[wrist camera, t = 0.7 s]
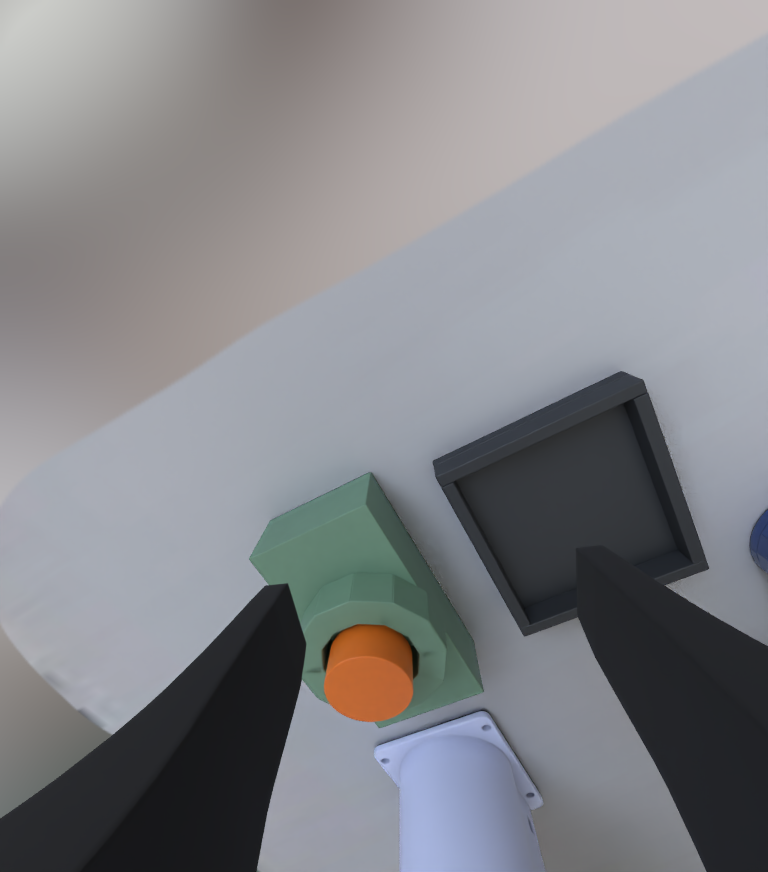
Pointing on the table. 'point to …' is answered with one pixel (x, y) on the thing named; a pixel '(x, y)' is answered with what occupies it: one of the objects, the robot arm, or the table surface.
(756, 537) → the cup
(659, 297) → the table surface
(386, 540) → the green button base
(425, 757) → the robot arm
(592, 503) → the tray
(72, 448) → the table surface
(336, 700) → the button
